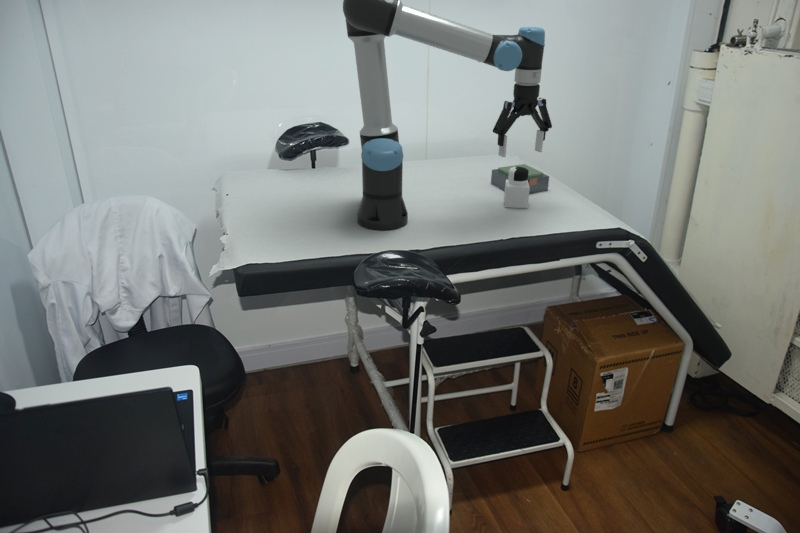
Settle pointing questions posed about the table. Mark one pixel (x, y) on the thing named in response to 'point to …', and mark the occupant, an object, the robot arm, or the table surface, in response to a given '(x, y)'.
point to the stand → (535, 178)
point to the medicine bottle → (517, 188)
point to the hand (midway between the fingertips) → (520, 153)
